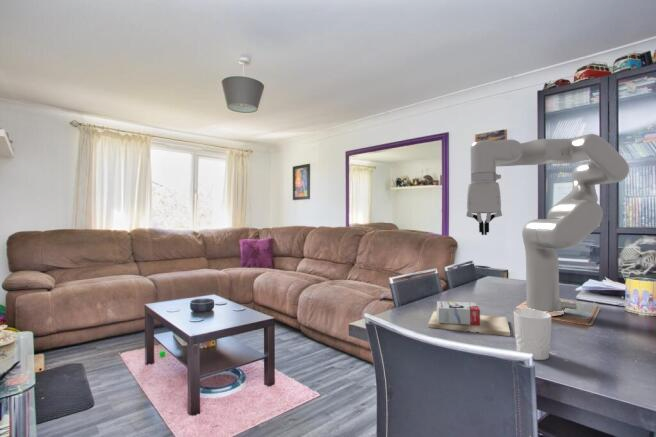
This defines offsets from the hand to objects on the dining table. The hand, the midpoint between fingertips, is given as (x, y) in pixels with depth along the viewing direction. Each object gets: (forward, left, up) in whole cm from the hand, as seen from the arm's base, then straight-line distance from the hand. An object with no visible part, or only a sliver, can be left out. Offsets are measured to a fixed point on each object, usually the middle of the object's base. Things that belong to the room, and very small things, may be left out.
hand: (484, 234), depth 114 cm
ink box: (+2, +11, -24) cm, 26 cm away
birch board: (+5, +11, -27) cm, 29 cm away
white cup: (-10, +29, -27) cm, 41 cm away
